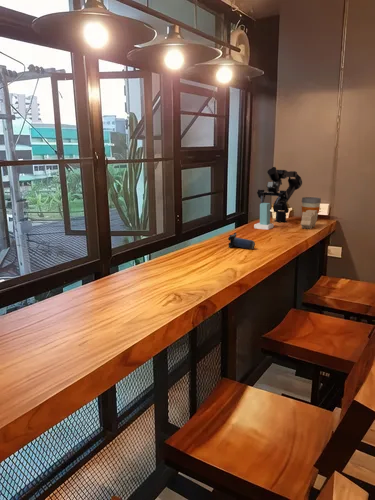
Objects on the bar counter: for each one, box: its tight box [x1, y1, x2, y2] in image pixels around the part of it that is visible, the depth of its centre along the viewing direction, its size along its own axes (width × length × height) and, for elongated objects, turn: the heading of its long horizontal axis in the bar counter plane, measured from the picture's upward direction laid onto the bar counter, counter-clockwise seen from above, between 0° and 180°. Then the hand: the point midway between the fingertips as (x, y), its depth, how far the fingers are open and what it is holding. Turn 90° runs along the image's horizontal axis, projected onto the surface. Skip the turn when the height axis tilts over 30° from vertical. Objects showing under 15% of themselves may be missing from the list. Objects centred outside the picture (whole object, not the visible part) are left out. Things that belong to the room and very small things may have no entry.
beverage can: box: [227, 232, 256, 250], centre depth 190 cm, size 9×8×12 cm
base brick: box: [253, 221, 274, 230], centre depth 243 cm, size 9×9×3 cm
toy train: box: [300, 210, 318, 230], centre depth 243 cm, size 6×17×10 cm, turn 150°
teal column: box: [259, 202, 271, 225], centre depth 240 cm, size 5×5×12 cm
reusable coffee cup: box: [301, 196, 322, 221], centre depth 270 cm, size 13×13×15 cm
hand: (268, 204), depth 245 cm, fingers open, 9 cm apart
